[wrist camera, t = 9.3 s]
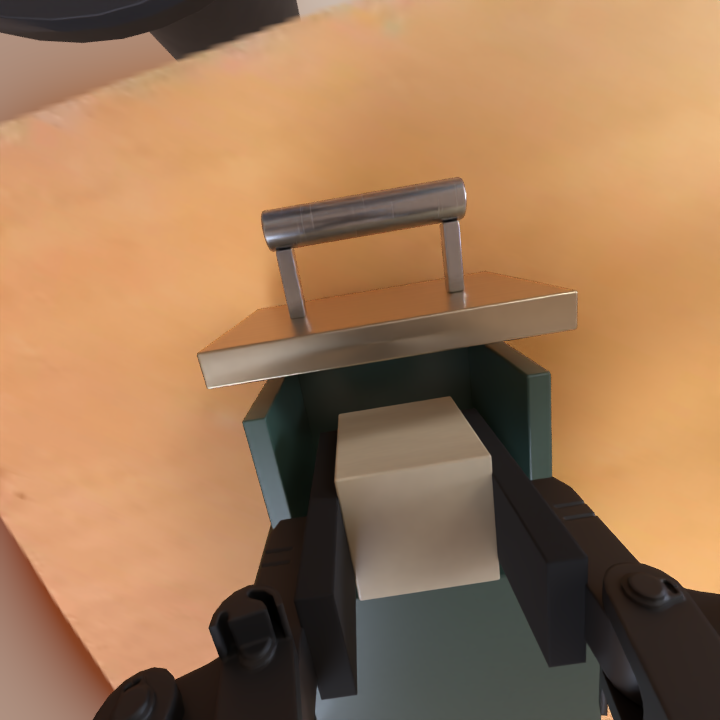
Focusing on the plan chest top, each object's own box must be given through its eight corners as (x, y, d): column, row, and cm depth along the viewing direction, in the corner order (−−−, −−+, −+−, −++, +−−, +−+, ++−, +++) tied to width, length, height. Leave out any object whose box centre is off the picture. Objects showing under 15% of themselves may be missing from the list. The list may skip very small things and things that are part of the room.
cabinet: (288, 461, 22) (244, 614, 13) (501, 427, 22) (609, 560, 13) (330, 629, 26) (320, 836, 17) (511, 603, 26) (598, 799, 17)
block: (338, 413, 13) (333, 480, 9) (450, 394, 13) (492, 455, 9) (356, 508, 14) (359, 602, 11) (460, 491, 14) (501, 580, 11)
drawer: (236, 226, 18) (152, 214, 10) (480, 184, 17) (580, 140, 10) (307, 516, 22) (286, 652, 15) (499, 486, 22) (575, 610, 15)
